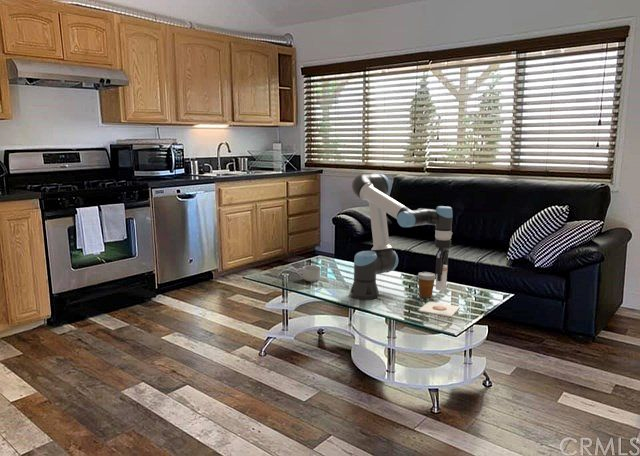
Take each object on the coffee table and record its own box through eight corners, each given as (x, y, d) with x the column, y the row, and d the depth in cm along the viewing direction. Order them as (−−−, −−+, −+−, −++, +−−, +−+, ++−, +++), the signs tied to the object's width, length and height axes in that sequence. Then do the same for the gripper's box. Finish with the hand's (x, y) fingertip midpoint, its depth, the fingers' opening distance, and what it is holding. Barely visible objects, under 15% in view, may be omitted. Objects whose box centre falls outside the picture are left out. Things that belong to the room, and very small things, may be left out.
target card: (418, 311, 238) (418, 309, 238) (428, 302, 252) (428, 301, 252) (451, 317, 230) (451, 315, 230) (460, 307, 244) (460, 306, 244)
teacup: (320, 278, 296) (320, 265, 295) (320, 283, 286) (320, 269, 284) (297, 277, 297) (297, 264, 295) (296, 282, 286) (296, 269, 285)
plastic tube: (434, 289, 238) (435, 265, 236) (437, 287, 243) (438, 263, 241) (444, 291, 236) (445, 266, 234) (447, 288, 240) (448, 264, 238)
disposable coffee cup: (417, 298, 259) (418, 276, 257) (416, 292, 268) (417, 271, 266) (435, 299, 258) (436, 276, 256) (433, 293, 267) (435, 272, 265)
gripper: (445, 242, 226) (443, 291, 229) (456, 236, 241) (453, 282, 245) (429, 241, 229) (427, 289, 233) (440, 235, 245) (438, 280, 249)
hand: (441, 285), depth 239 cm, fingers closed on plastic tube, 5 cm apart
